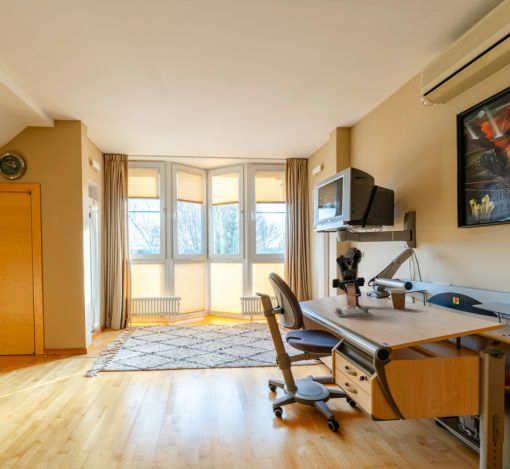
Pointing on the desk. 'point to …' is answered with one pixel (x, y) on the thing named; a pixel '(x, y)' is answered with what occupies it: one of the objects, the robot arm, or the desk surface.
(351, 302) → the peg
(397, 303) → the disposable coffee cup
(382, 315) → the desk surface
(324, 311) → the desk surface
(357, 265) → the robot arm
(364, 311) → the socket plate
